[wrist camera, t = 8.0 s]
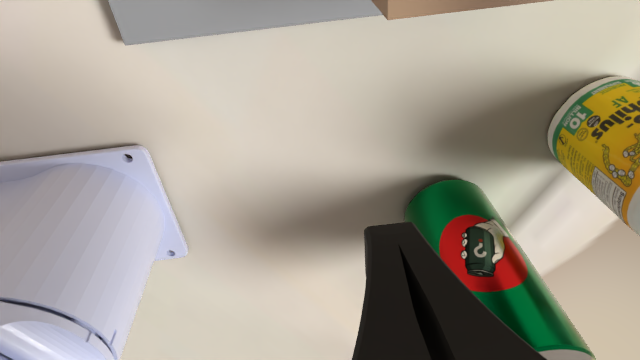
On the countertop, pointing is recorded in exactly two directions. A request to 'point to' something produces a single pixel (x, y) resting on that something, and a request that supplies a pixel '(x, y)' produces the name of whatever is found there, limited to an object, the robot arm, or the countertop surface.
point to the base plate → (225, 16)
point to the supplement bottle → (603, 143)
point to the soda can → (494, 266)
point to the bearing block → (438, 6)
